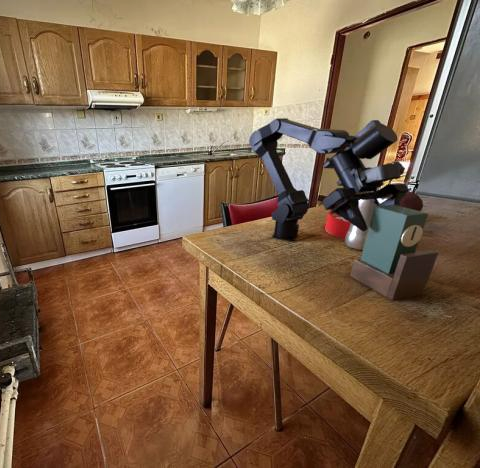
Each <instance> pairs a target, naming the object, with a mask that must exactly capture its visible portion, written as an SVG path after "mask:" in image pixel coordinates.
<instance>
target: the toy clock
mask: <svg viewBox="0 0 480 468" xmlns="http://www.w3.org/2000/svg"><path fill="white" fill-rule="evenodd" d="M350 225H351V223H350V222H349V221H347V220H346V219H344V218H343V217H341V216H339V215H338V214H336V213H334V212H331V210H328V212H327V217H326V222H325V227H324V230H325V231H326V232H327V233H328V234H329V235H331V236H334V237H336V238H339V239H342V240H345V237H346V234H347V232H348V231H349V228H350Z"/></svg>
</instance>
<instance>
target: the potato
mask: <svg viewBox="0 0 480 468" xmlns="http://www.w3.org/2000/svg"><path fill="white" fill-rule="evenodd" d="M400 206H401V207H405V208H409V209H413V210H417V211H421V212H422V210H423V208H424V203H423V200H422V198H421V197H420V196H419V195H418V194H417V193H415V192H411V191H409V192H407V193H406V195H405V196H404V197H402V199H401V201H400Z"/></svg>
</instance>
